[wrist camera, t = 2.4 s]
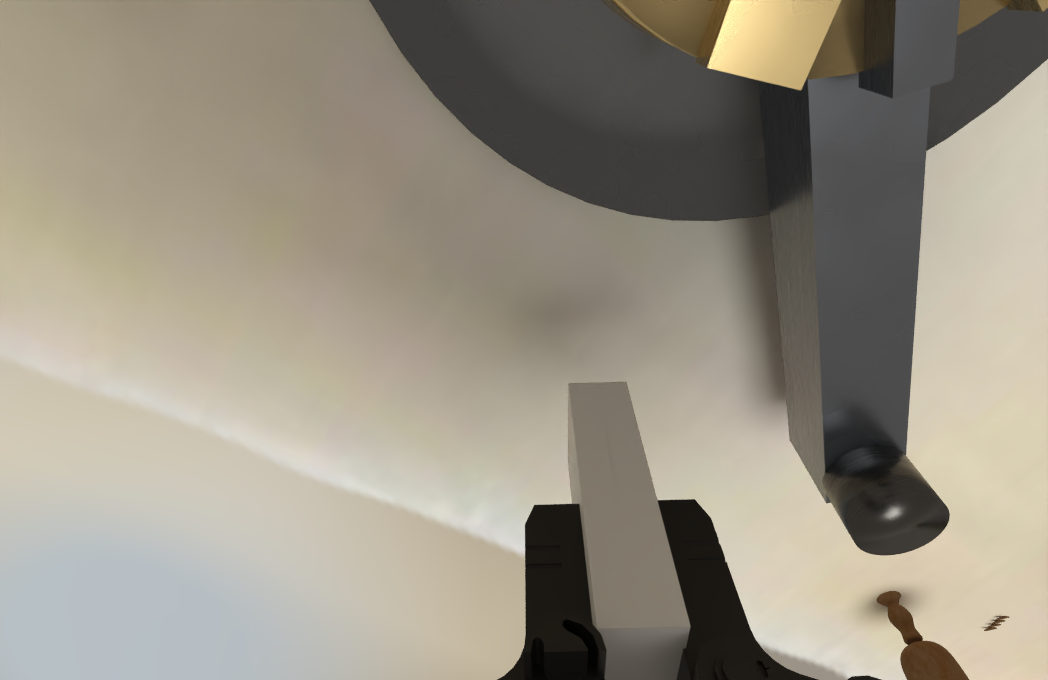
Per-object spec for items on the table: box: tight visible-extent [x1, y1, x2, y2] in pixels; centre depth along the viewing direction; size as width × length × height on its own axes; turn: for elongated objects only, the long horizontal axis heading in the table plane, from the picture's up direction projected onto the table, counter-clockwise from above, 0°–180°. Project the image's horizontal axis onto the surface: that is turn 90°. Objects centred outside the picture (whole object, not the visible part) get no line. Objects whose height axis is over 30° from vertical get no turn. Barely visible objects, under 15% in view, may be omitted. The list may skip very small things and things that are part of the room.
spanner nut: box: [601, 0, 1048, 555], centre depth 12 cm, size 25×11×5 cm, turn 18°
